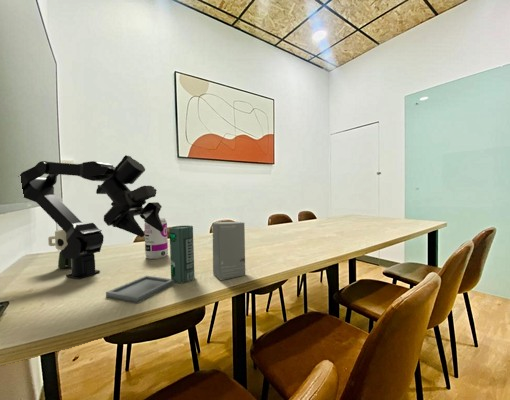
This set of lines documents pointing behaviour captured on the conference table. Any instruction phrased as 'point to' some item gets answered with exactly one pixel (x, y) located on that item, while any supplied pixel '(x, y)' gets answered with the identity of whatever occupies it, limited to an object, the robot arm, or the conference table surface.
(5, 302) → the conference table surface
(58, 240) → the character mug
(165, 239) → the supplement can
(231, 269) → the skincare box
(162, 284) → the tray
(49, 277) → the conference table surface
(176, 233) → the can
